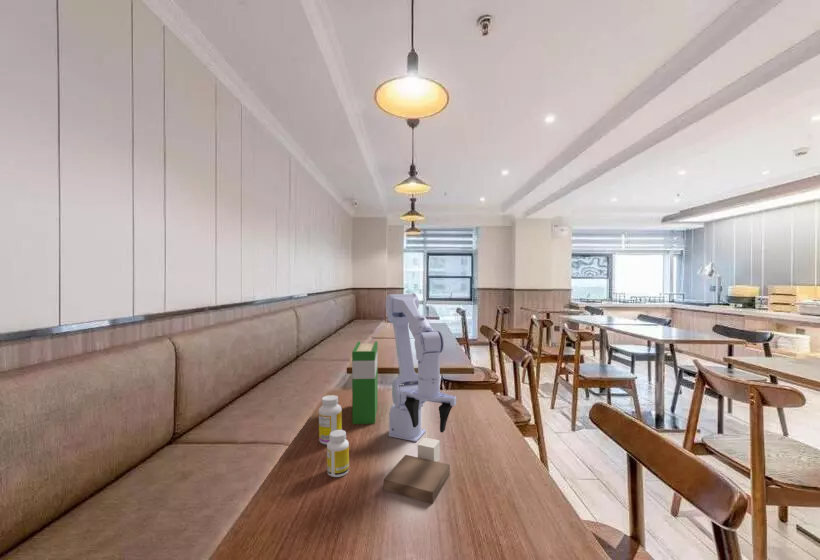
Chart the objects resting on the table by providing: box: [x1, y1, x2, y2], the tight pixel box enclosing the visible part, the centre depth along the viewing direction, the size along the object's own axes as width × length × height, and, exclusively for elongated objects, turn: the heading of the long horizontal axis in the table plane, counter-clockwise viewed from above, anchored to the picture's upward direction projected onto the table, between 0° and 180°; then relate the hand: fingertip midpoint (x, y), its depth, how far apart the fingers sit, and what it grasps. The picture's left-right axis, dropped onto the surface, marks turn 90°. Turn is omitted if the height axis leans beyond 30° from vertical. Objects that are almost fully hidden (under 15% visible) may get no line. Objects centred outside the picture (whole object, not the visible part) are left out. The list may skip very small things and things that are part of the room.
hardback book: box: [351, 341, 379, 425], centre depth 125 cm, size 18×7×24 cm, turn 2°
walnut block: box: [383, 454, 451, 504], centre depth 84 cm, size 12×12×2 cm
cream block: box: [417, 437, 441, 462], centre depth 93 cm, size 4×4×5 cm
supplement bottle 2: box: [326, 429, 350, 478], centre depth 88 cm, size 5×5×10 cm
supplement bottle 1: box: [318, 394, 343, 446], centre depth 105 cm, size 7×7×13 cm
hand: (428, 428), depth 93 cm, fingers open, 7 cm apart
